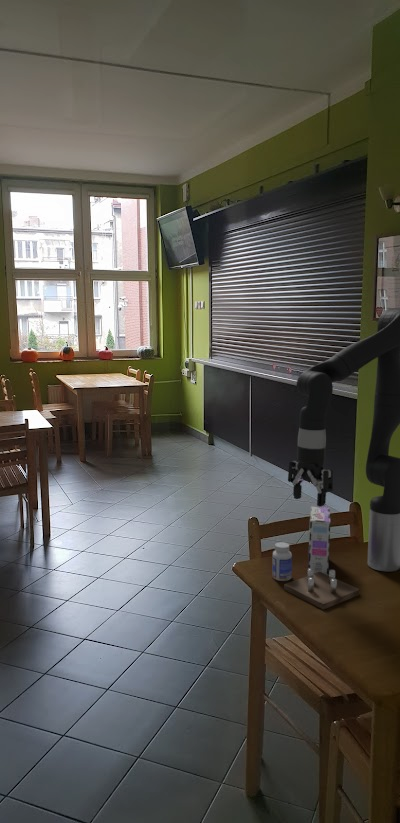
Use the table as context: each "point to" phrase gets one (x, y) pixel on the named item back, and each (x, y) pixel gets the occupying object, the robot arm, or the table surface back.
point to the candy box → (319, 539)
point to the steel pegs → (331, 581)
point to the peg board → (321, 591)
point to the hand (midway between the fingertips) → (308, 502)
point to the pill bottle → (282, 562)
